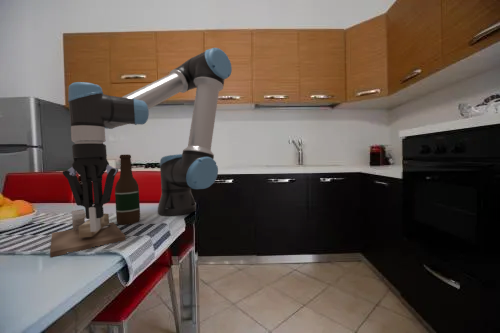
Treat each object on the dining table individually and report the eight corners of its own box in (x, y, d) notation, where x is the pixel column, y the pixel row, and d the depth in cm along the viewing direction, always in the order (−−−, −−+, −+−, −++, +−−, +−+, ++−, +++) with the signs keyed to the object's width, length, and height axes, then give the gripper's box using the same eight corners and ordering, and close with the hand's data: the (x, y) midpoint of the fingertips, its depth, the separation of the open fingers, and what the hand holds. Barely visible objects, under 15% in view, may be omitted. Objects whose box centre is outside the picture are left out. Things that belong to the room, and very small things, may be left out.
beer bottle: (124, 219, 88) (120, 154, 87) (145, 218, 88) (141, 154, 87) (111, 225, 81) (107, 154, 79) (133, 225, 80) (130, 154, 79)
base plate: (113, 225, 80) (113, 222, 80) (125, 240, 66) (125, 236, 66) (52, 236, 70) (52, 233, 70) (50, 257, 56) (50, 252, 56)
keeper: (108, 223, 79) (107, 205, 79) (111, 227, 74) (110, 209, 74) (73, 229, 73) (71, 210, 73) (74, 234, 68) (72, 214, 68)
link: (95, 223, 76) (94, 206, 76) (110, 222, 77) (109, 205, 77) (76, 238, 63) (74, 218, 62) (95, 236, 64) (93, 216, 64)
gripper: (120, 143, 68) (125, 224, 69) (70, 144, 66) (77, 228, 67) (109, 141, 61) (116, 232, 62) (53, 143, 59) (60, 237, 60)
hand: (95, 230), depth 65 cm, fingers closed
